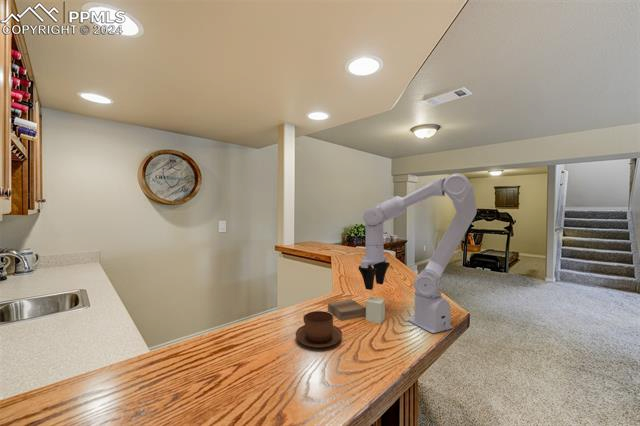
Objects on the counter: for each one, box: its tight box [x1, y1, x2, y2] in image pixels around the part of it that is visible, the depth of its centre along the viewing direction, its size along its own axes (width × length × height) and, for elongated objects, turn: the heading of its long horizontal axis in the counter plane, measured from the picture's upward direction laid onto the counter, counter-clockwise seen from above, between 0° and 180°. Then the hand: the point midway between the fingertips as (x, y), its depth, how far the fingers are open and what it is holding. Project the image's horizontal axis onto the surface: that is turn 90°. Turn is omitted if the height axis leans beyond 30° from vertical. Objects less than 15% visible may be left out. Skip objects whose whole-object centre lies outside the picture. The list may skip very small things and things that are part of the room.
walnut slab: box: [327, 298, 366, 322], centre depth 86 cm, size 9×9×3 cm
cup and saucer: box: [295, 310, 343, 349], centre depth 68 cm, size 12×12×6 cm
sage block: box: [365, 296, 386, 325], centre depth 81 cm, size 4×4×6 cm
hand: (374, 286), depth 86 cm, fingers open, 7 cm apart
